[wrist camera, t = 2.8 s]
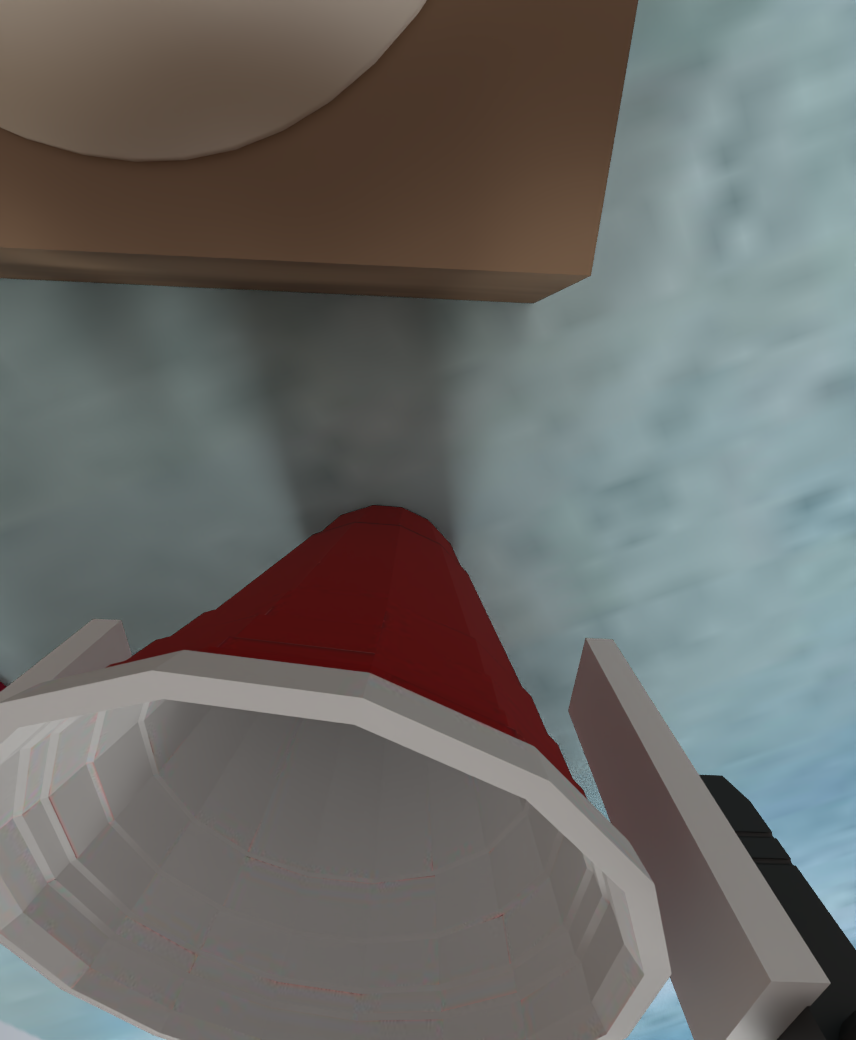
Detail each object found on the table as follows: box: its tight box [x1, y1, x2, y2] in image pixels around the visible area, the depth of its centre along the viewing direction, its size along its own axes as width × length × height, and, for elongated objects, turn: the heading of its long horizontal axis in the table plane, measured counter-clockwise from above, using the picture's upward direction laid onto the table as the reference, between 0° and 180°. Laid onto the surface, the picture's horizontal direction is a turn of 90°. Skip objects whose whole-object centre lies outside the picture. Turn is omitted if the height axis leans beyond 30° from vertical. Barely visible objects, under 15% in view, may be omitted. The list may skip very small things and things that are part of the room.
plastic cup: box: [0, 505, 672, 1040], centre depth 11 cm, size 11×11×12 cm
